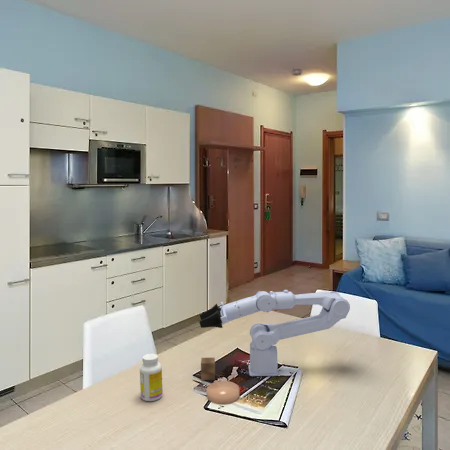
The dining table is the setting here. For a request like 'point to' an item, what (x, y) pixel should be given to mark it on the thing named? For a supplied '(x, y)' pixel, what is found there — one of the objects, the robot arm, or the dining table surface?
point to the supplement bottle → (151, 378)
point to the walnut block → (207, 369)
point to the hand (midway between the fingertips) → (200, 321)
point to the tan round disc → (222, 392)
